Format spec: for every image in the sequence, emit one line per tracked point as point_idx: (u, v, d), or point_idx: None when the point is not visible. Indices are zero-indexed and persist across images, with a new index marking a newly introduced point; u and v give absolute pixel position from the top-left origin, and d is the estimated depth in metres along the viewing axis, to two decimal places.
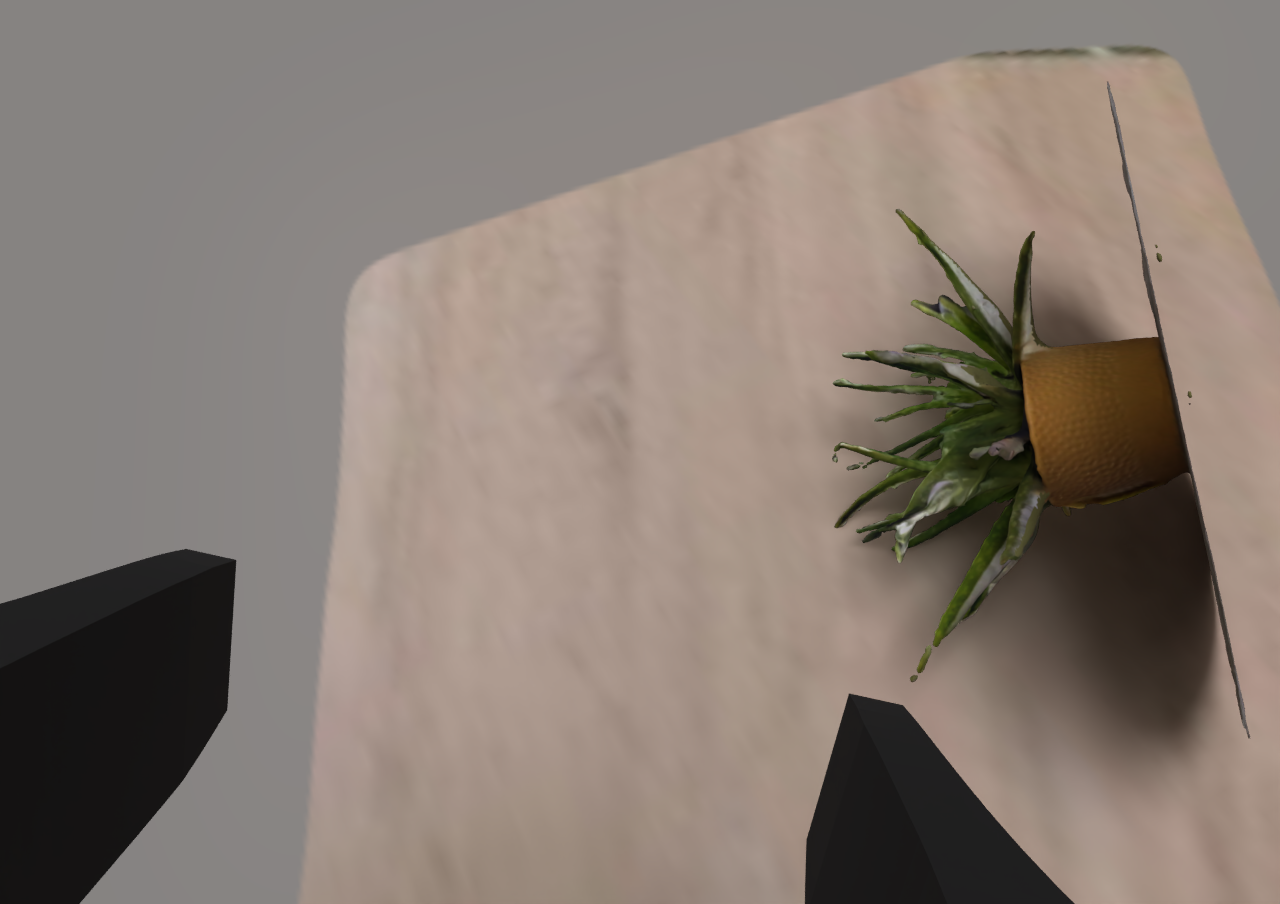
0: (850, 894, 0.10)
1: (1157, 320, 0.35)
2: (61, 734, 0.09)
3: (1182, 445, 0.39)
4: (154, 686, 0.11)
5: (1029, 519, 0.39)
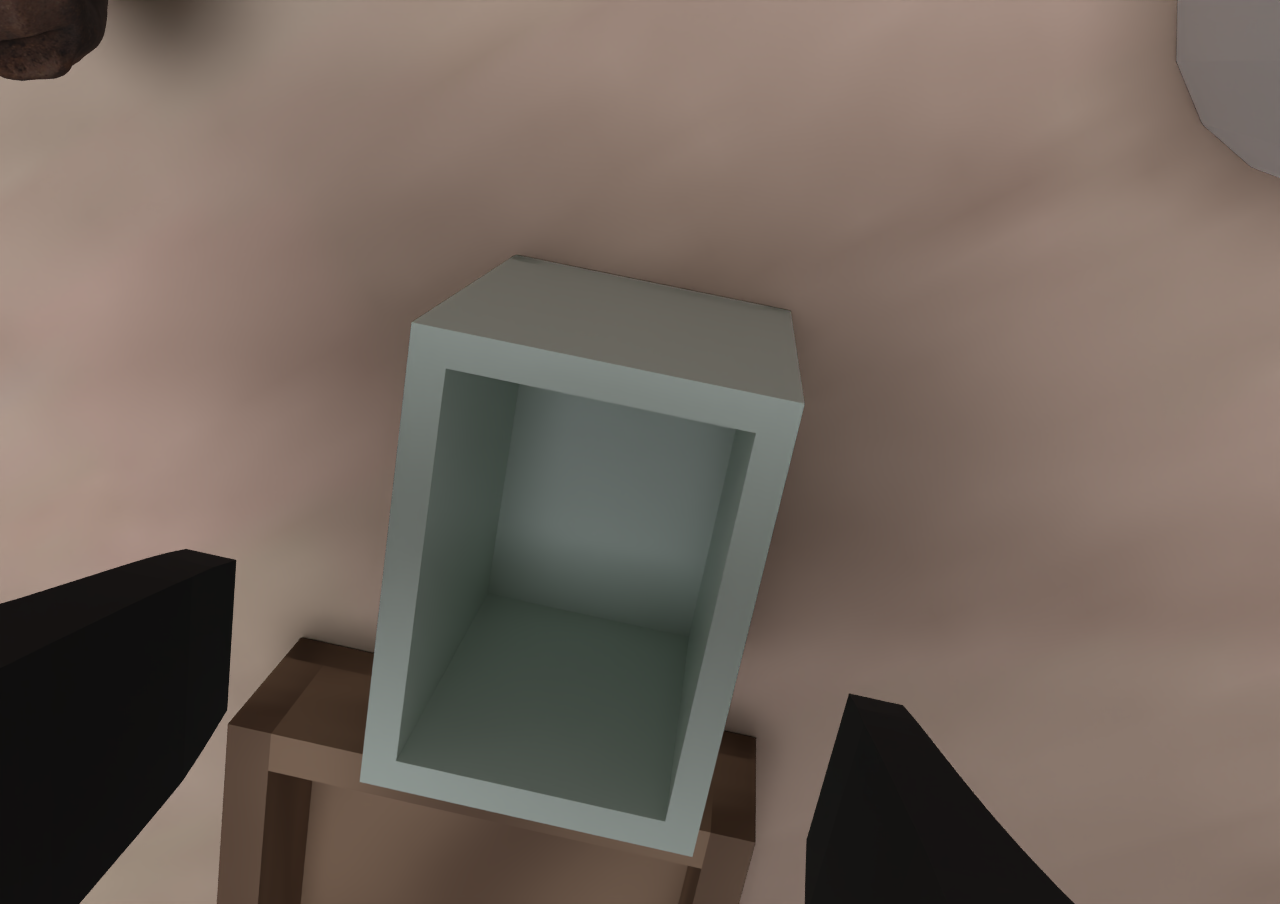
0: (850, 894, 0.10)
1: None
2: (61, 734, 0.09)
3: None
4: (154, 686, 0.11)
5: None
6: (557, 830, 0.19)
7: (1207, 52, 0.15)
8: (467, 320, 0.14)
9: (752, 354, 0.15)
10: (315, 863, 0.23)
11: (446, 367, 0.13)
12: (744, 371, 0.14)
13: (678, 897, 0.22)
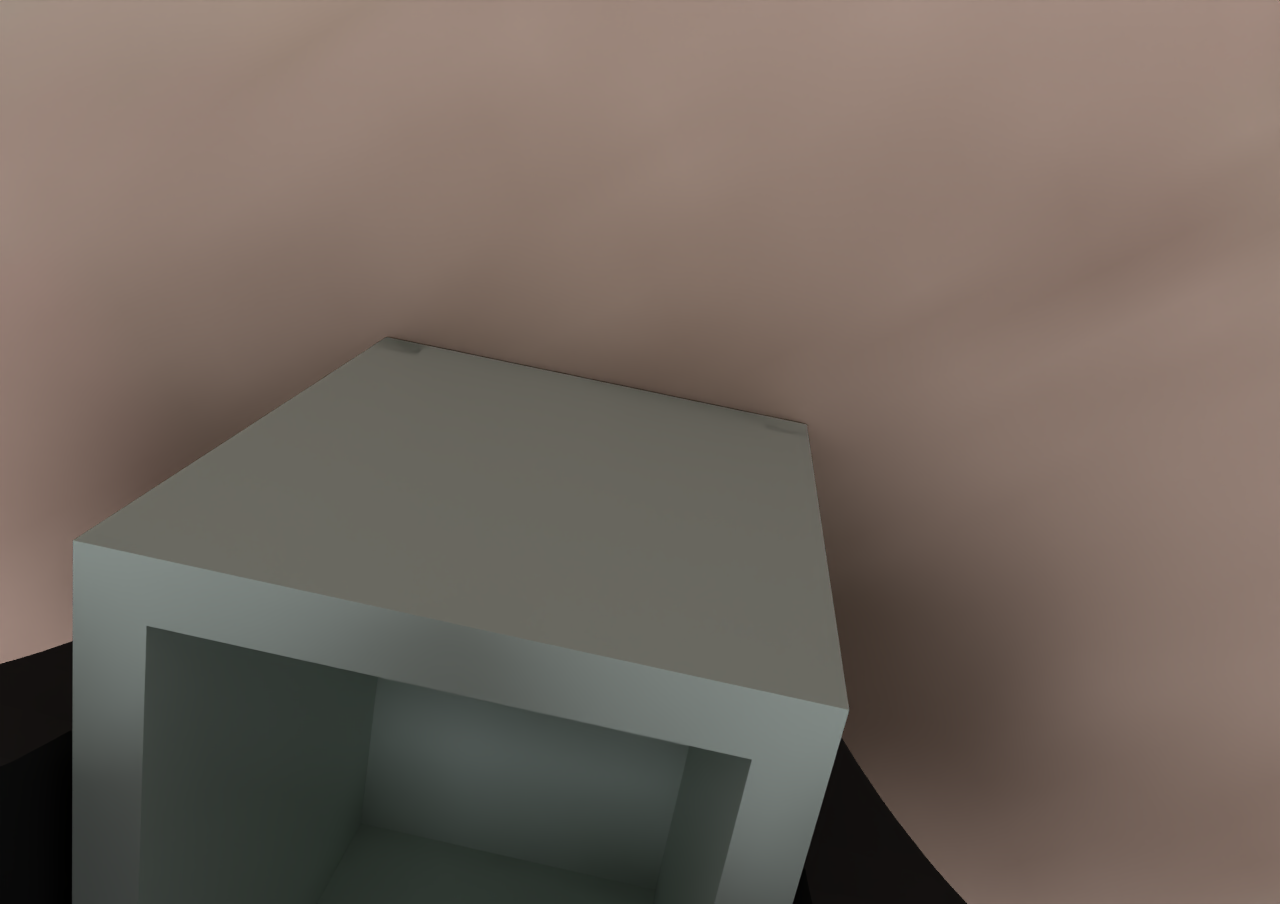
0: None
1: None
2: None
3: None
4: None
5: None
6: None
7: None
8: (206, 518, 0.07)
9: (746, 551, 0.08)
10: None
11: (149, 623, 0.07)
12: (730, 609, 0.07)
13: None
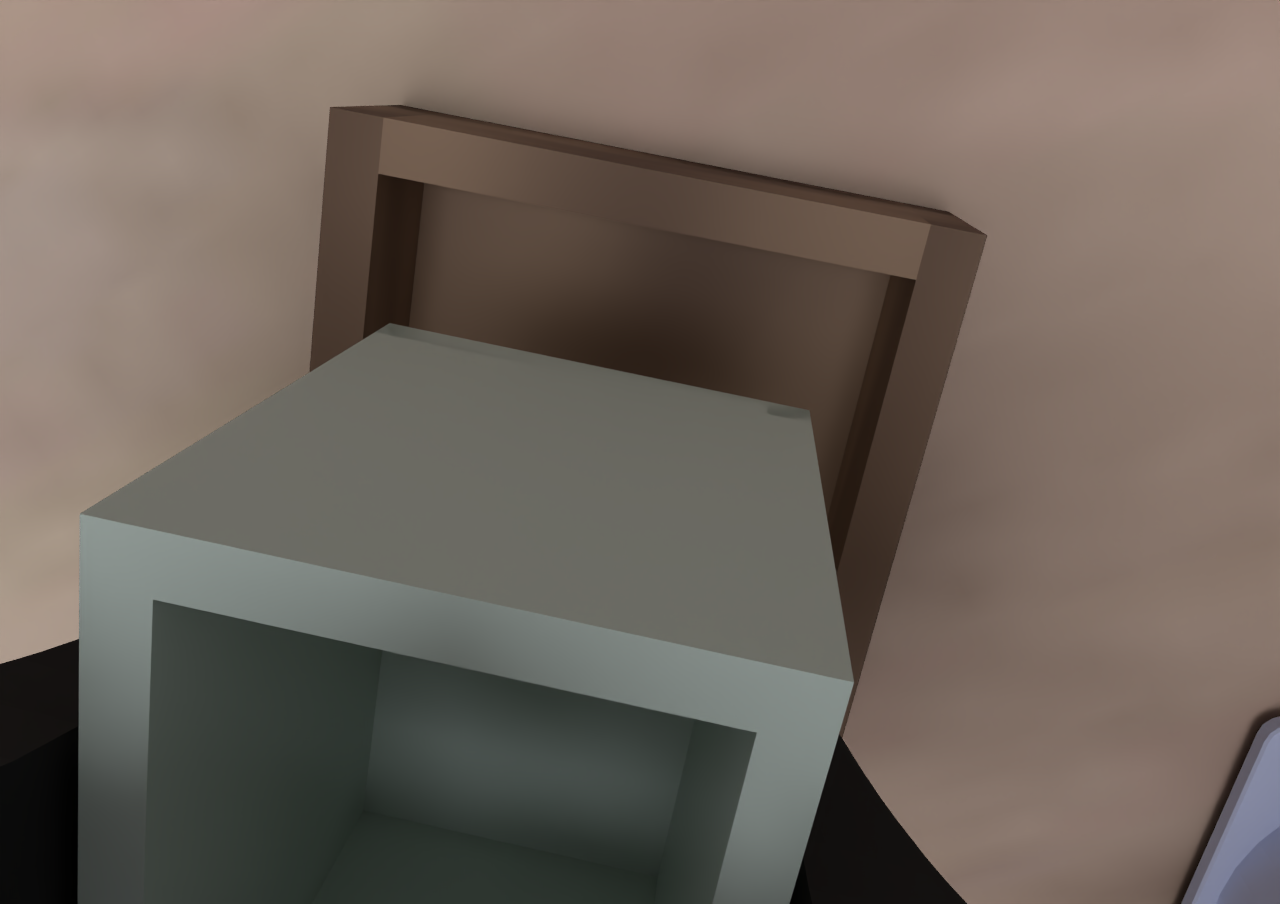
0: None
1: None
2: None
3: None
4: None
5: None
6: (738, 234, 0.15)
7: None
8: (212, 494, 0.07)
9: (750, 531, 0.08)
10: None
11: (155, 597, 0.07)
12: (735, 585, 0.08)
13: (851, 417, 0.18)
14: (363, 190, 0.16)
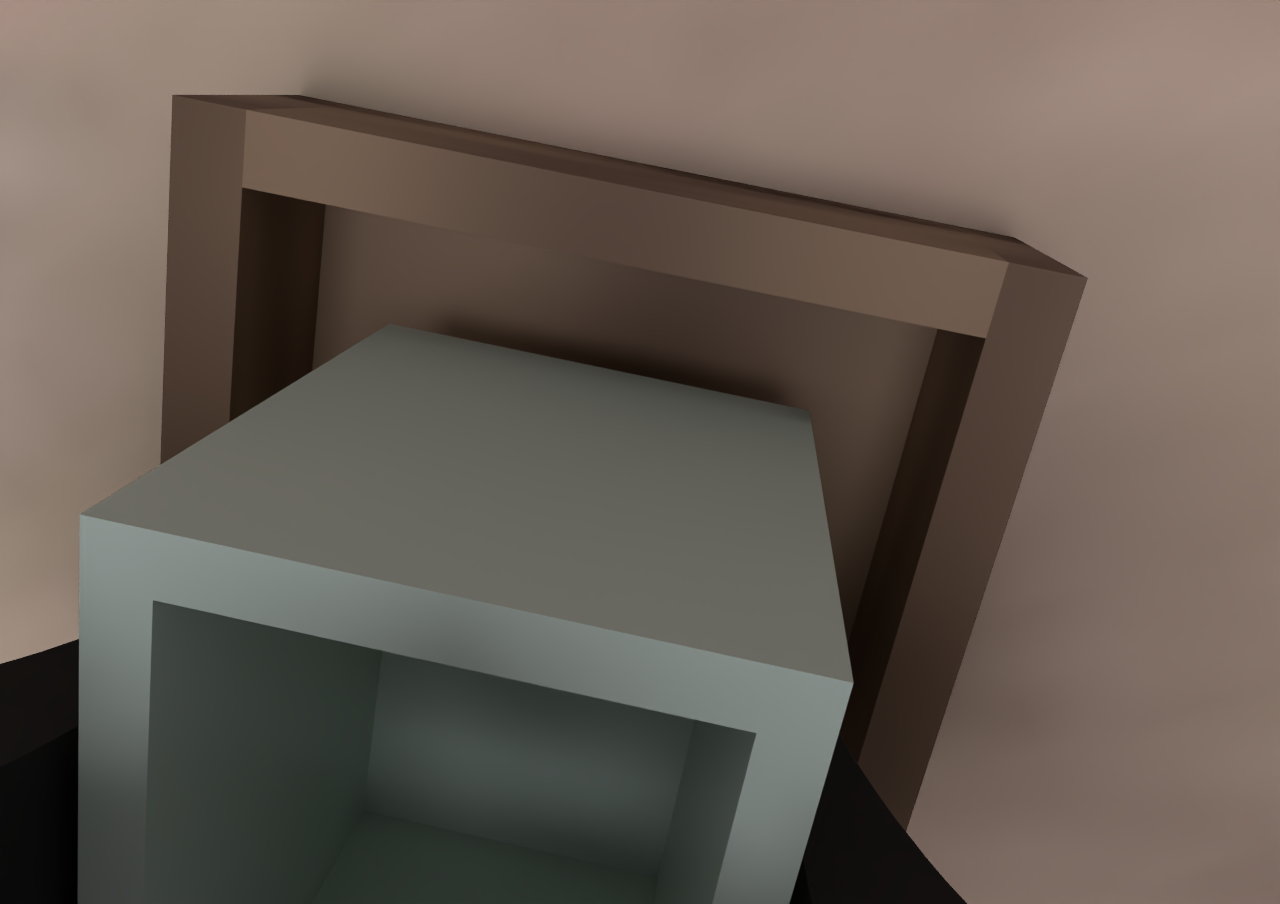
0: None
1: None
2: None
3: None
4: None
5: None
6: (737, 274, 0.11)
7: None
8: (212, 495, 0.07)
9: (750, 531, 0.08)
10: None
11: (155, 597, 0.07)
12: (735, 586, 0.08)
13: (885, 503, 0.14)
14: (222, 210, 0.11)
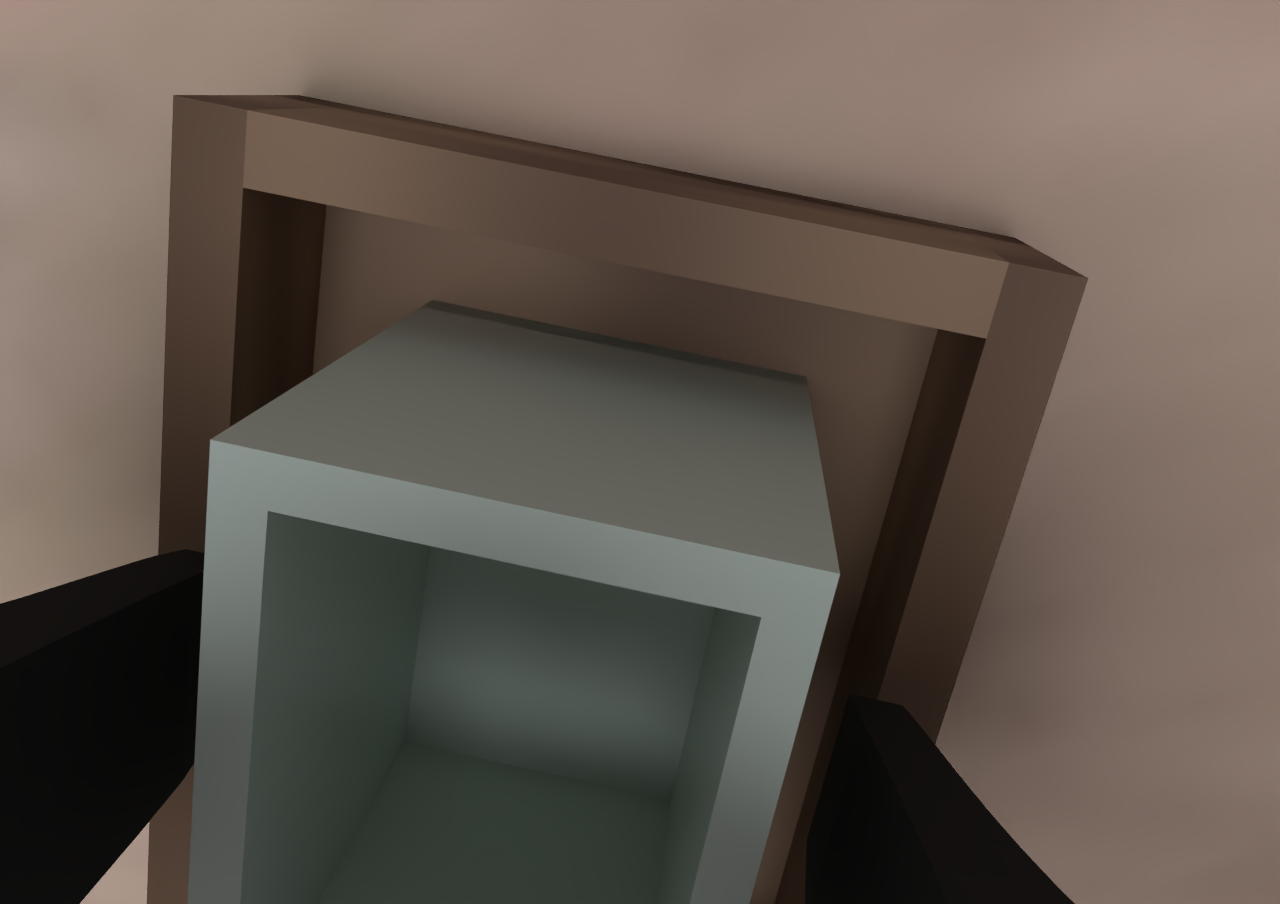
0: (850, 894, 0.10)
1: None
2: (61, 734, 0.09)
3: None
4: (154, 686, 0.11)
5: None
6: (738, 275, 0.11)
7: None
8: (311, 428, 0.09)
9: (755, 466, 0.10)
10: None
11: (269, 509, 0.08)
12: (743, 505, 0.09)
13: (885, 503, 0.14)
14: (223, 210, 0.11)
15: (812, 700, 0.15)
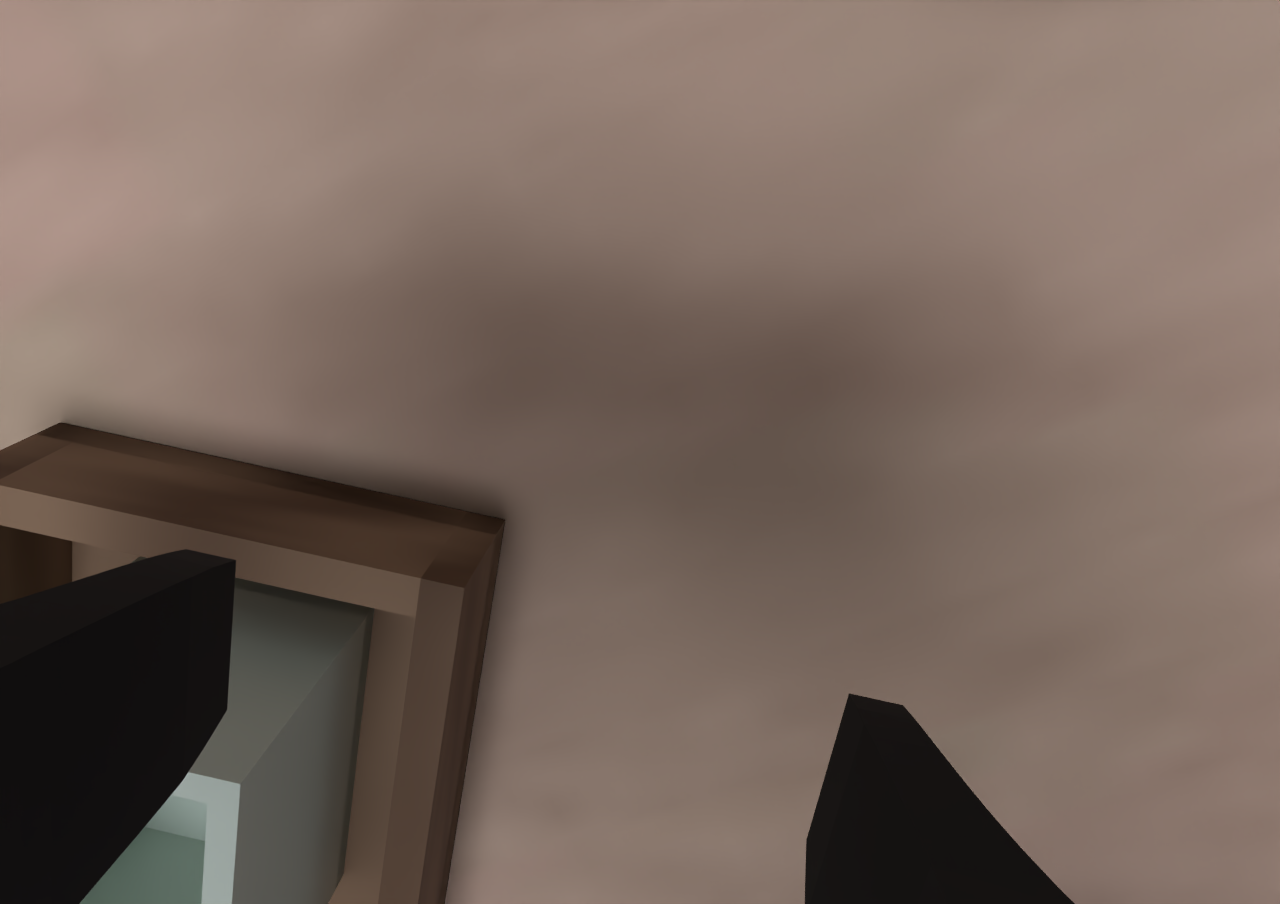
0: (850, 894, 0.10)
1: None
2: (61, 734, 0.09)
3: None
4: (154, 686, 0.11)
5: None
6: (275, 579, 0.19)
7: None
8: None
9: (258, 702, 0.18)
10: None
11: None
12: (223, 735, 0.17)
13: None
14: None
15: None
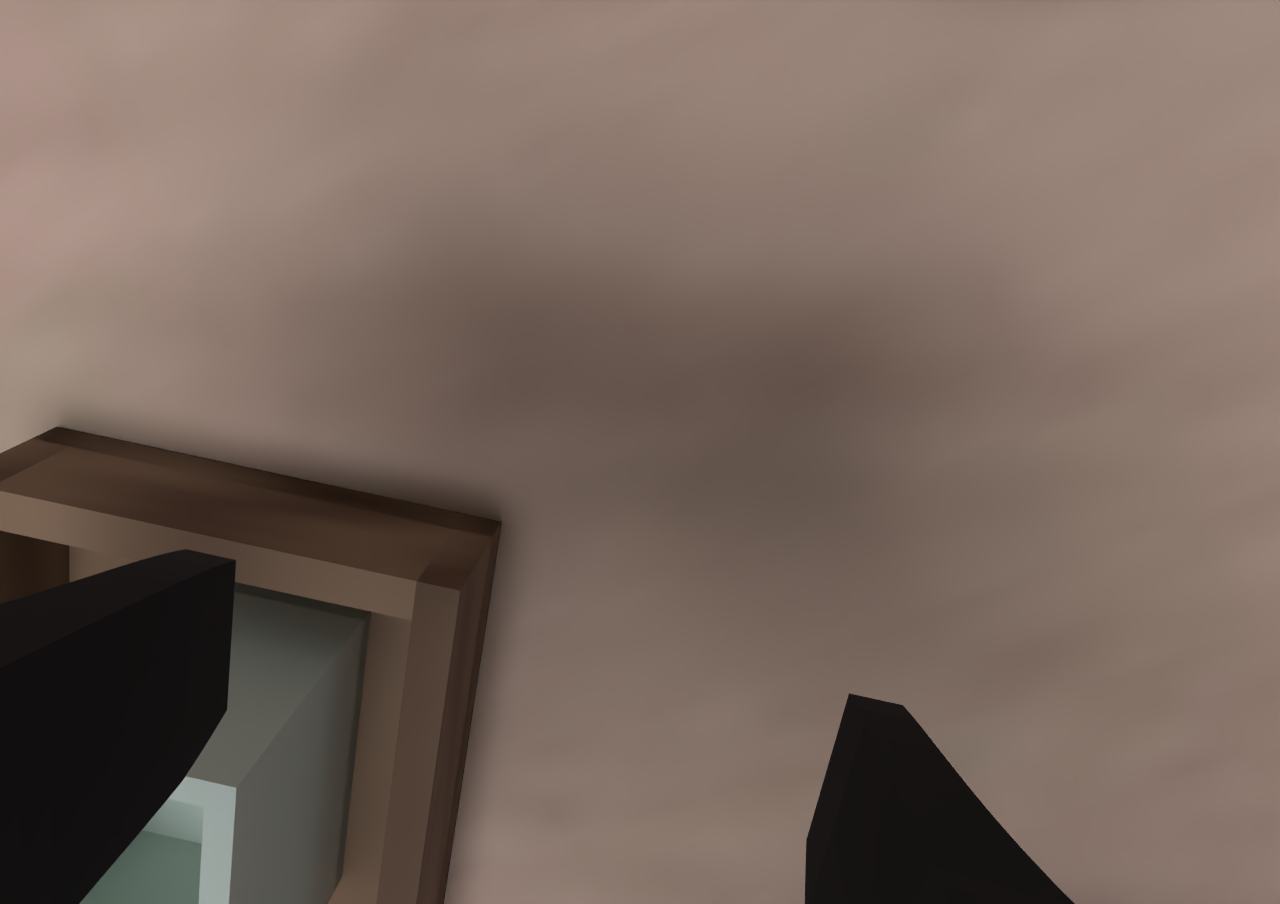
0: (850, 894, 0.10)
1: None
2: (61, 734, 0.09)
3: None
4: (154, 686, 0.11)
5: None
6: (271, 582, 0.19)
7: None
8: None
9: (254, 705, 0.18)
10: None
11: None
12: (220, 739, 0.17)
13: None
14: None
15: None
